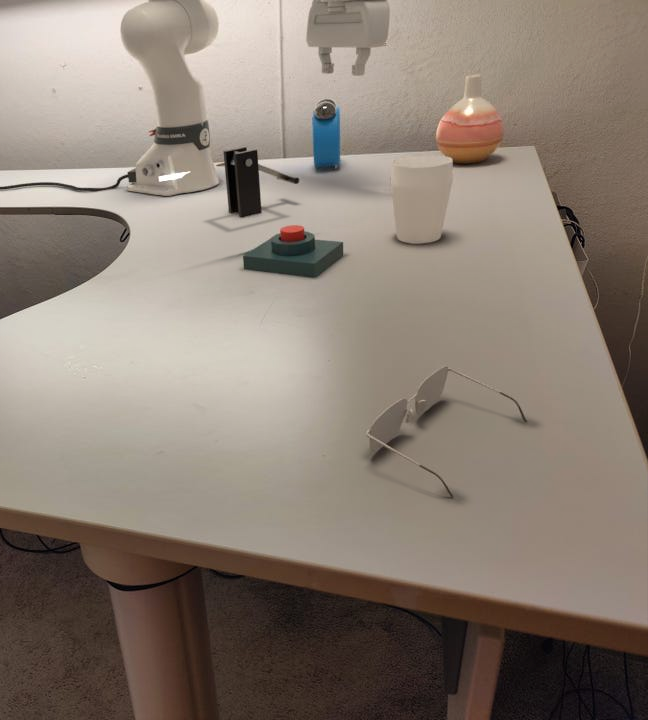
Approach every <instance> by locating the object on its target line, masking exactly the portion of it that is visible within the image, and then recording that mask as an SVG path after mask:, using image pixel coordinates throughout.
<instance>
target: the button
mask: <svg viewBox="0 0 648 720" xmlns="http://www.w3.org/2000/svg"><path fill="white" fill-rule="evenodd" d="M304 231H305V227H304V226H303V225H300V224H299V225H298V224H293V225H292V224H291V225H286V226H283V227H281V228H280V230H279V233H280V236H281V241H283V242H297V241H301V240H304V239H305V234H304Z"/></svg>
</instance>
